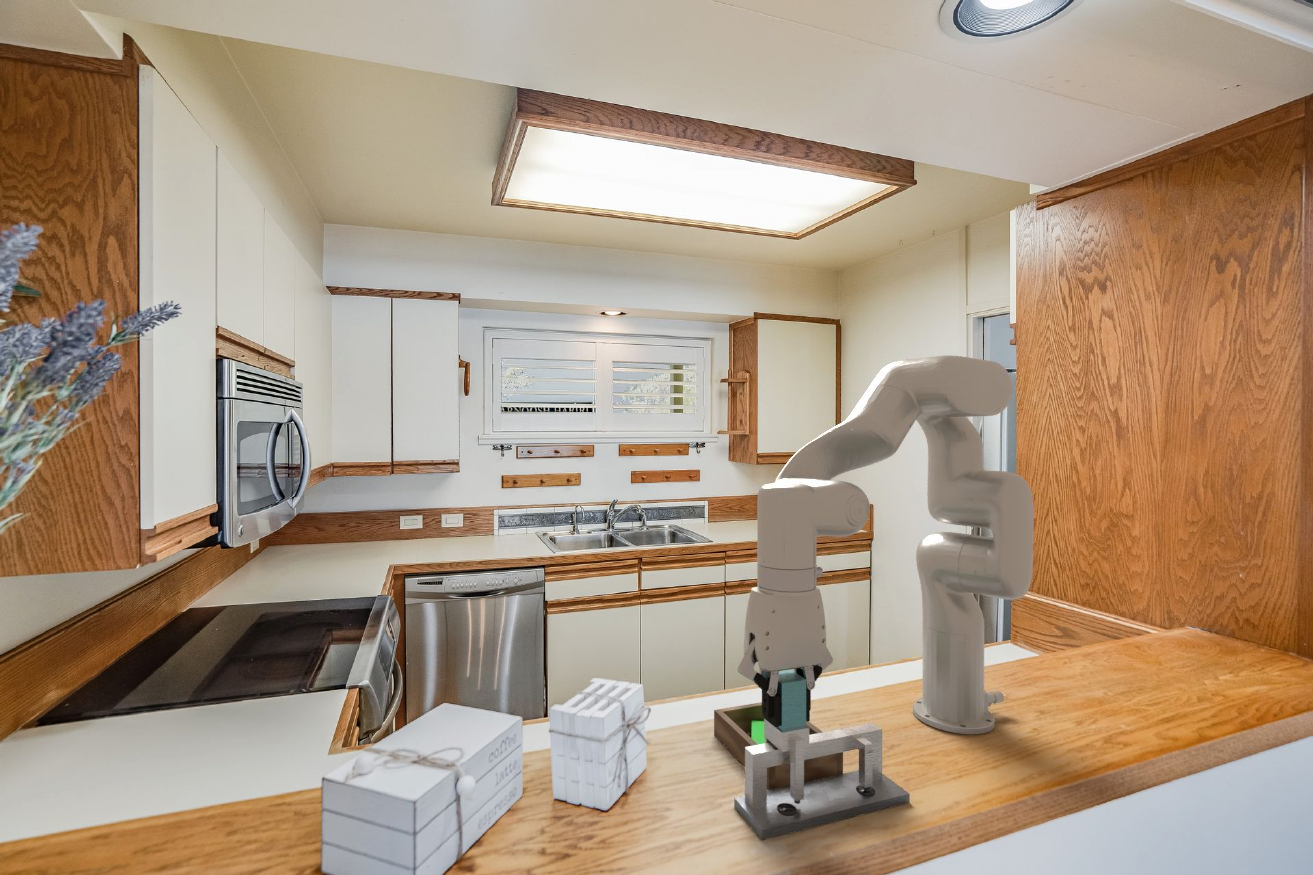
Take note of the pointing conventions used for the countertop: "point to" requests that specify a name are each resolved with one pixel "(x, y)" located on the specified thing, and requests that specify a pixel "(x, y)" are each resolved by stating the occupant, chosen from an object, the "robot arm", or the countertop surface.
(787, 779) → the parts tray
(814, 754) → the metal bridge frame
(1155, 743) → the countertop surface
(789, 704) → the sliding leg
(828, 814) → the bolt plate
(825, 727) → the countertop surface
